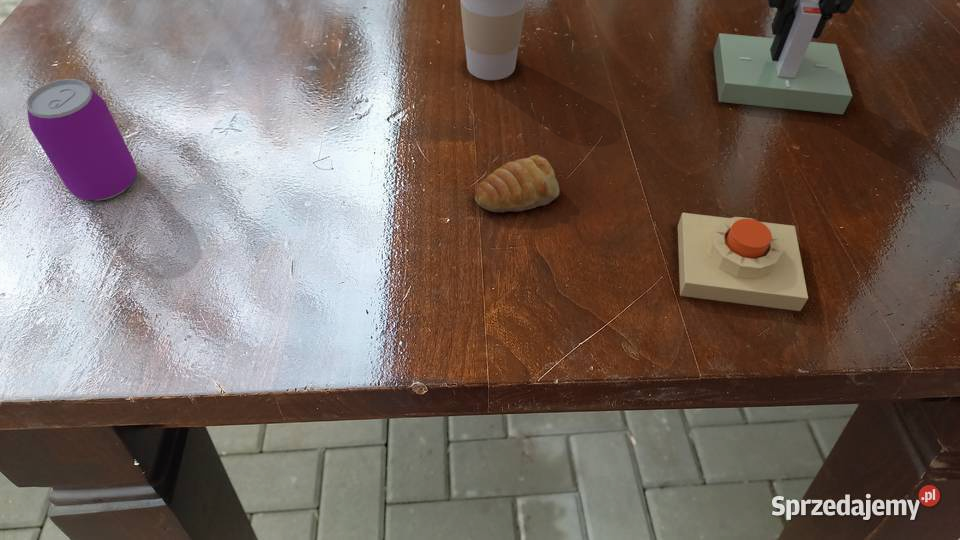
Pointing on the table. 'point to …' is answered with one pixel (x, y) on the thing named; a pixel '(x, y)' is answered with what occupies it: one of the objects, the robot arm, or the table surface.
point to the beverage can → (81, 139)
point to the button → (749, 238)
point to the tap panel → (755, 80)
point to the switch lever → (798, 38)
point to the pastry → (518, 186)
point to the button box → (739, 265)
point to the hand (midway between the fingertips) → (785, 56)
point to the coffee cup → (492, 36)
